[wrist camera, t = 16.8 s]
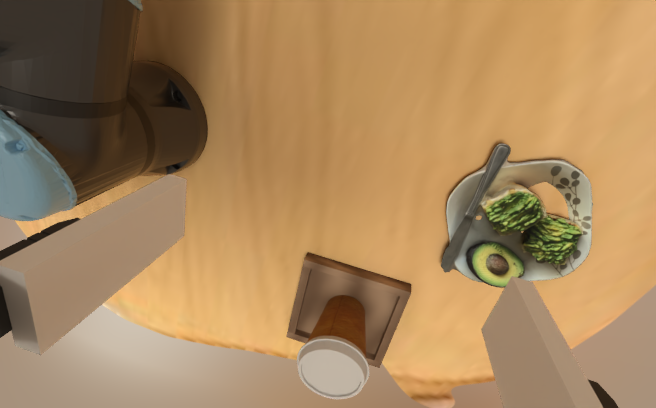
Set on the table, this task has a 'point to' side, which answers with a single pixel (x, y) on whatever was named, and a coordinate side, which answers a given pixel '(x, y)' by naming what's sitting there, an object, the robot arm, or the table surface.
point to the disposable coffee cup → (336, 351)
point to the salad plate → (517, 222)
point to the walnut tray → (341, 279)
